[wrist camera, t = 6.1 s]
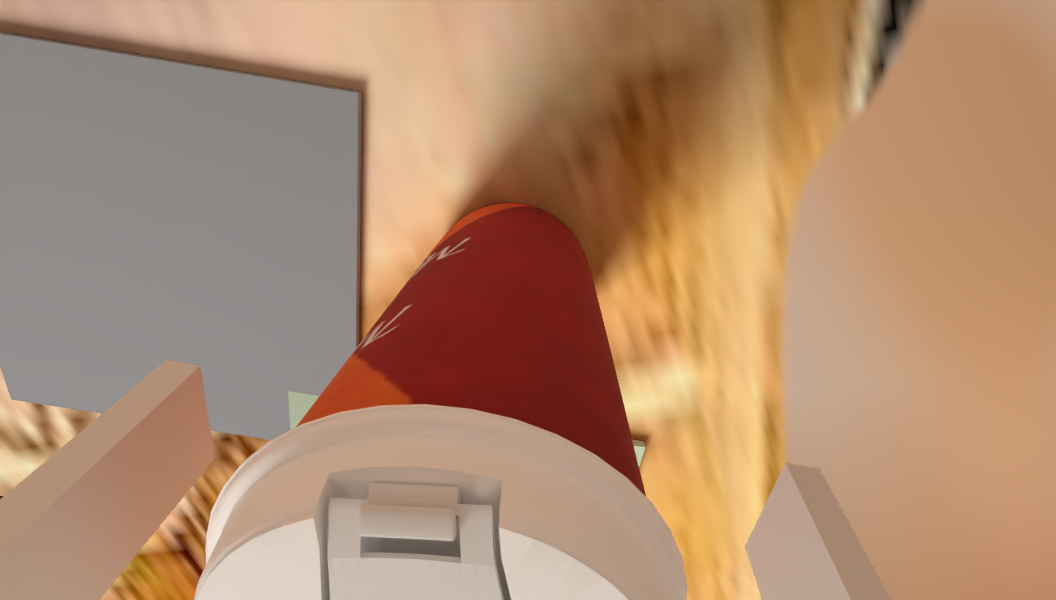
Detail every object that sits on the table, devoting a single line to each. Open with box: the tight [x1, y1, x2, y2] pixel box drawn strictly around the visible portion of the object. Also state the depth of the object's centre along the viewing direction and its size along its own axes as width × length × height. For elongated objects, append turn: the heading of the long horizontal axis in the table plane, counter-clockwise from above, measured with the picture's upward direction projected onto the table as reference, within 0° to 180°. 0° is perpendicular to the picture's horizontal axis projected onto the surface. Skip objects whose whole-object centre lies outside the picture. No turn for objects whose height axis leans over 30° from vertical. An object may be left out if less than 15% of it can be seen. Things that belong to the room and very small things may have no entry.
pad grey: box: [0, 32, 362, 440], centre depth 22 cm, size 16×16×1 cm
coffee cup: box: [194, 203, 687, 600], centre depth 15 cm, size 8×8×15 cm
